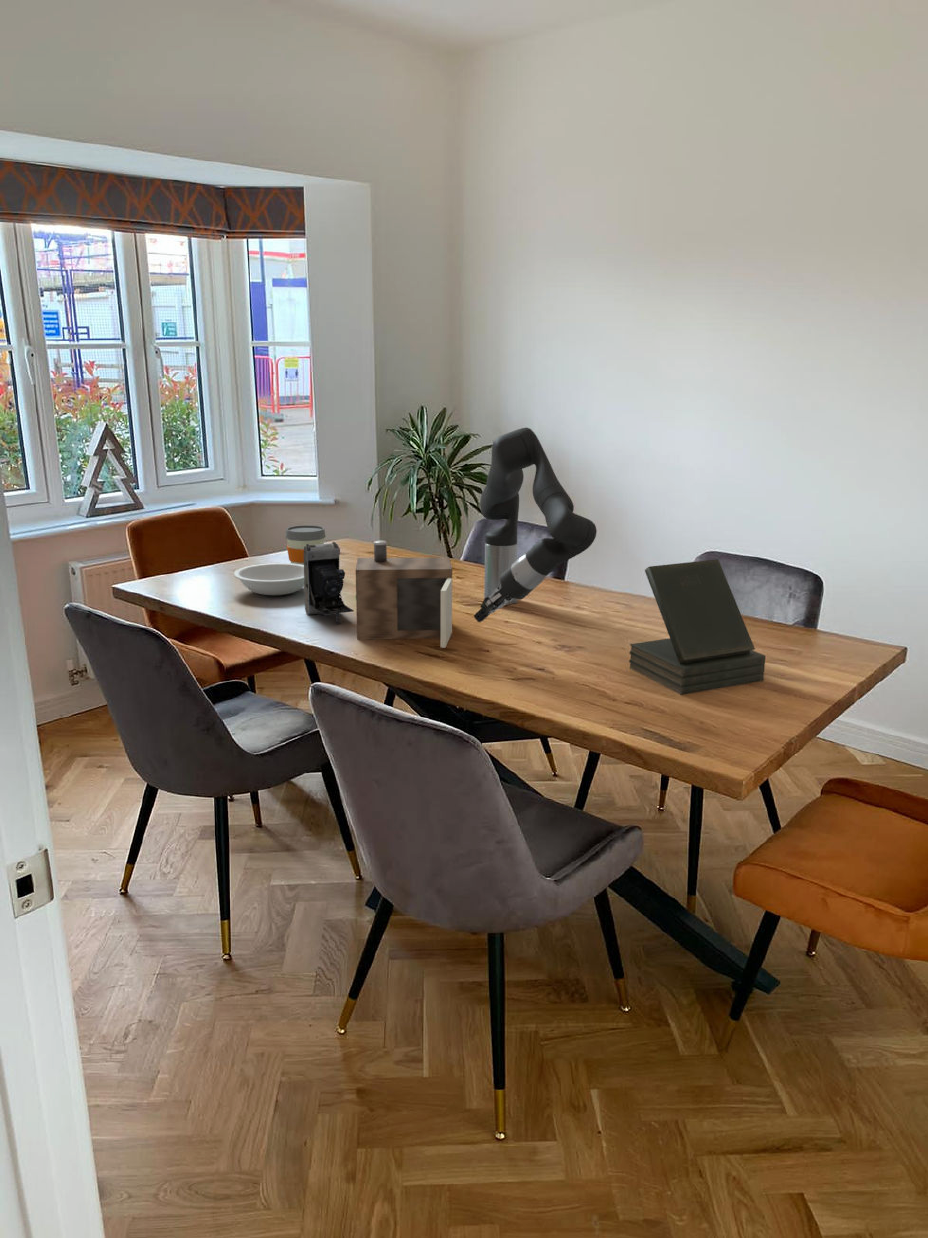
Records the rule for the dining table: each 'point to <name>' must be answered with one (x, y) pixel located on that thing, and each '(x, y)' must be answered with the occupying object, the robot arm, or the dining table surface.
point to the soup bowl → (272, 578)
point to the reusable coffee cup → (302, 540)
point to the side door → (446, 612)
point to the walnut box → (400, 597)
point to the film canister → (380, 551)
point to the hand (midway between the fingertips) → (477, 618)
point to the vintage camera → (323, 580)
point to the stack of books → (697, 632)
